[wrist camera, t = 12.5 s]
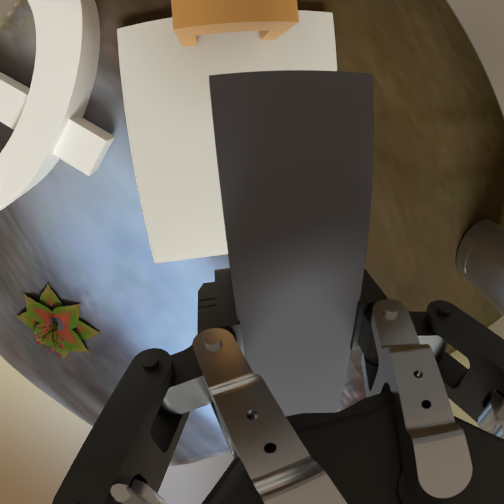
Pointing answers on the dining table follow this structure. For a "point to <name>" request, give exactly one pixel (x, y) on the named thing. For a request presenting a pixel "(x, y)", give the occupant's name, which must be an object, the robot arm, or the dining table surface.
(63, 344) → the lily flower
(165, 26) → the mat
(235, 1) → the orange arch block
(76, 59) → the ring with crossbar
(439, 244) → the dining table surface
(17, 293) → the dining table surface
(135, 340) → the dining table surface
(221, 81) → the long grey rectangular bar
